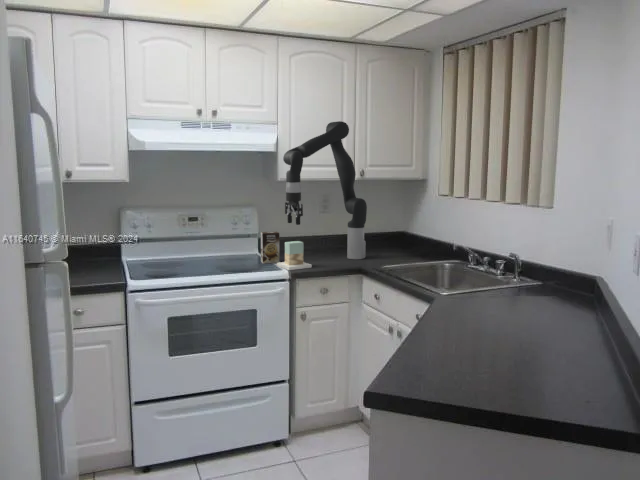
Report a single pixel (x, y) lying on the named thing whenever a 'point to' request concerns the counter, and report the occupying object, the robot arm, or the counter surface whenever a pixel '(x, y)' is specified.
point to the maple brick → (293, 259)
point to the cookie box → (269, 247)
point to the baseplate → (294, 266)
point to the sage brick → (293, 247)
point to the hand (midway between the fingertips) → (293, 223)
